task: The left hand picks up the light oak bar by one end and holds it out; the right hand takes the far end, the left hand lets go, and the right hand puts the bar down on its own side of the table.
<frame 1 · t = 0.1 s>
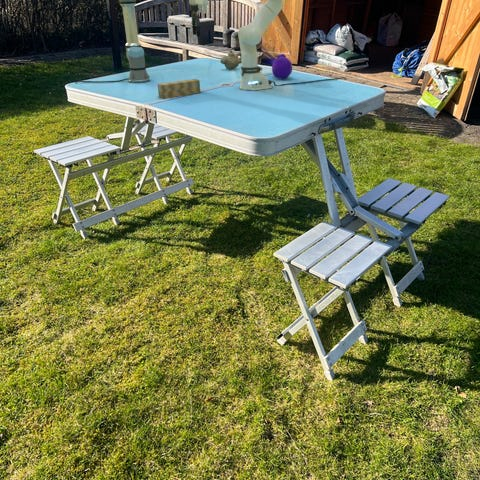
left hand: (196, 35, 349), 28 cm above the table, tool pointing down, fingers open, 13 cm apart
right hand: (202, 12, 280), 48 cm above the table, tool pointing down, fingers open, 8 cm apart
bar: (179, 94, 297), on the table
toy: (277, 77, 341), on the table
teapot: (232, 69, 375), on the table
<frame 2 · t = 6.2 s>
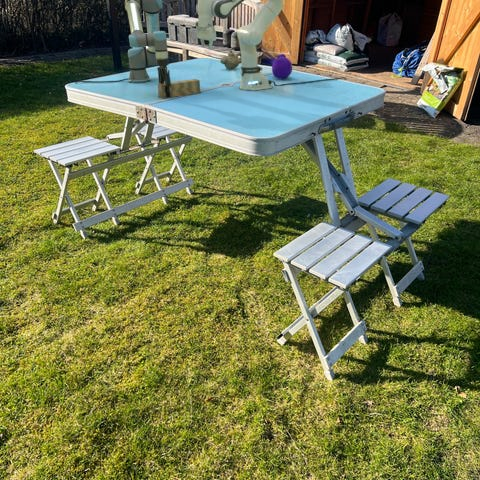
left hand: (166, 96, 292), 1 cm above the table, tool pointing down, fingers closed on bar, 6 cm apart
right hand: (207, 47, 290), 28 cm above the table, tool pointing down, fingers open, 8 cm apart
bar: (179, 94, 297), on the table, touching left hand
everything else where it was.
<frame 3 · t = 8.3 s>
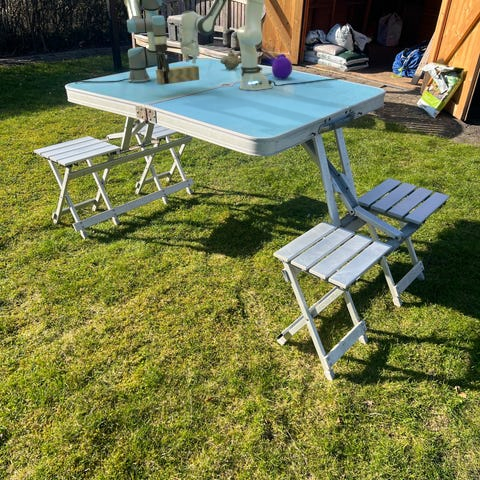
left hand: (164, 82, 288), 9 cm above the table, tool pointing down, fingers closed on bar, 6 cm apart
right hand: (190, 62, 292), 19 cm above the table, tool pointing down, fingers open, 8 cm apart
bar: (178, 81, 293), point 8 cm above the table, touching left hand
everything else where it was.
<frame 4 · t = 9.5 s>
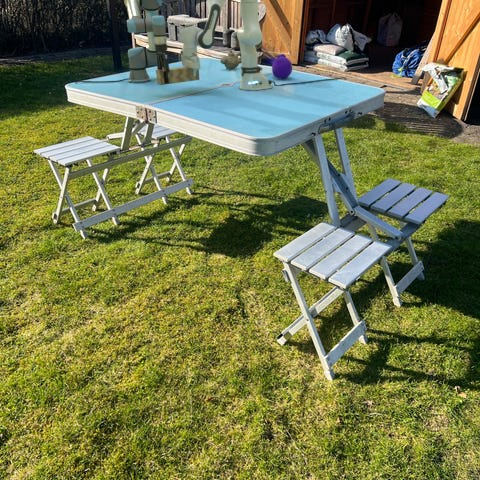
left hand: (164, 82, 288), 9 cm above the table, tool pointing down, fingers closed on bar, 6 cm apart
right hand: (191, 75, 296), 11 cm above the table, tool pointing down, fingers closed on bar, 6 cm apart
bar: (178, 81, 293), point 8 cm above the table, touching left hand, right hand
everything else where it was.
when the left hand's fingers open (9 cm above the table, at t = 10.5 s): bar stays where it is, held by the right hand.
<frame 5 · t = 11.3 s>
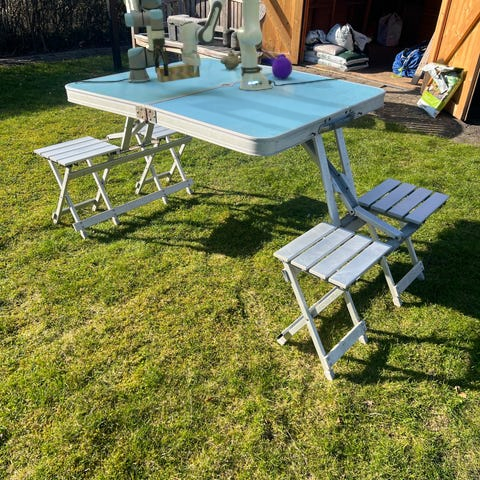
left hand: (162, 74, 285), 14 cm above the table, tool pointing down, fingers open, 13 cm apart
right hand: (192, 72, 295), 13 cm above the table, tool pointing down, fingers closed on bar, 6 cm apart
bar: (179, 79, 292), point 10 cm above the table, touching right hand
everything else where it was.
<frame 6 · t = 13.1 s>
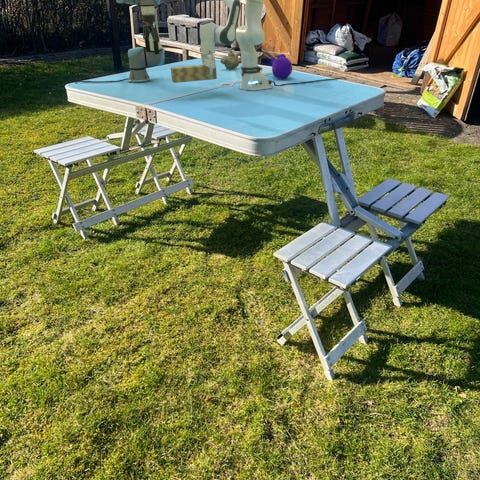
left hand: (152, 53, 276), 27 cm above the table, tool pointing down, fingers open, 13 cm apart
right hand: (209, 73, 284), 14 cm above the table, tool pointing down, fingers closed on bar, 6 cm apart
bar: (194, 80, 282), point 11 cm above the table, touching right hand
everything else where it was.
when the right hand's fingers open (4 cm above the table, at t = 17.0 s): bar stays where it is, on the table.
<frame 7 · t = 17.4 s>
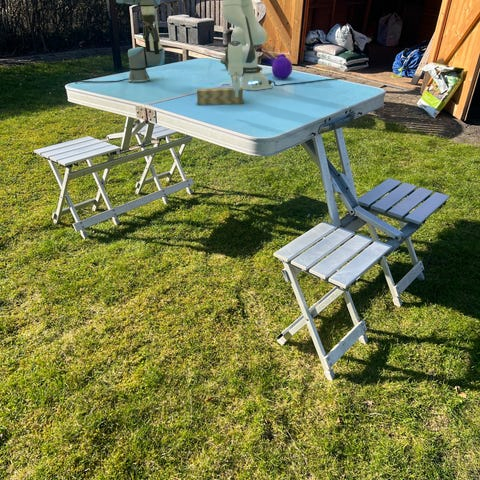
left hand: (152, 53, 276), 27 cm above the table, tool pointing down, fingers open, 13 cm apart
right hand: (236, 95, 274), 5 cm above the table, tool pointing down, fingers open, 8 cm apart
bar: (220, 103, 276), on the table
everything else where it was.
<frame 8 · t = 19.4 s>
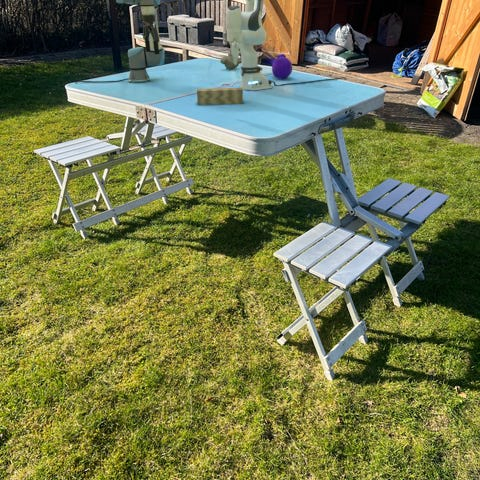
left hand: (152, 53, 276), 27 cm above the table, tool pointing down, fingers open, 13 cm apart
right hand: (235, 63, 264), 23 cm above the table, tool pointing down, fingers open, 8 cm apart
nothing on the table moved.
at the end: bar inside the target area (9.7 cm from its centre), on the table; the left hand is holding nothing; the right hand is holding nothing; bar at rest at the end (0.0 cm/s) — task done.
